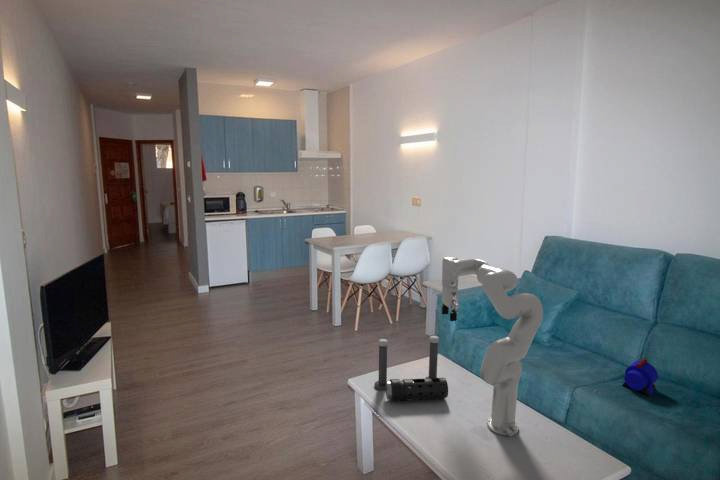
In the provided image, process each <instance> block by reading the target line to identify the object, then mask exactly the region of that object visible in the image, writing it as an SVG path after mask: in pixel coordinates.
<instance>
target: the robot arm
mask: <svg viewBox="0 0 720 480" xmlns="http://www.w3.org/2000/svg"><path fill="white" fill-rule="evenodd" d="M441 263H442V265H441V267H442V268H441V269H442V271H441V274H442V275H441V286H442V290H441V314H442V315H449V321H450V322H456V321H457V320H458V319H457V317H458V310H459V302H460V301H459V299H460V297H459V296H460V295H459V277H465V276H470V275H474V276H475V275H476V279H477V281H478V282H479V284H481V286H482V288H483V291H484V293H485V294H486V296H487V298H488V299H489V301H490V302H491V304H492V306H493V308H494V309H495V310H496V312H497V313H498V315H499V316H501V318H503V319H506V320H513V319H516V318H518V319H517V320H516V321H515V323H514V324H513V325H512V328H511V330H510V332H509V333H508V335H507V336H506V337H504V338H500V339H497V340H494V341H493V342H492V343H490V344H489V346H488V348H487V350H486V352H485V355H484V358H483V359H482V362H481V365H480V376H481V379H482V380H483V381H484V382H485V383H486V384H488V385H491V386H492V387H493V388H492V400H491V402H492V403H491V413H490V414H491V415H490V417H488V418H487V421H486V424H487V425H486V426H487V427H488V429H489V430H490V431H492V432H493V433H495V434H498V435H500V436H501V435H502V436H509V437H514V435H515V434H518V431H519V425H518V423H517V422H516V414H517V413H516V411H517V400H518V388H519V383H520V379H521V376H522V370H523V368H522V364H521V360H522V359H524V358H525V357H526V354H527V353H528V351H529V348H530V346H531V345H532V343H533V341H534V337H535V336H536V334H537V332H538V330H539V328H540V326H541V324H542V321H543V319H544V318H543V317H544V309H543V305H542V302H541V300H540V299H539V298H538V297H537V295H535V294H533V293H529V292H525V293H524V292H523V293H517V294H512V295H508V293H507V292H510V291H512V290H514V289H515V288H516V287H517V284H518V282H519V279H518V276H517V274H515V273H514V272H512V271H511V270H508V269H505V268H500V267H497V266H492V265H490V264H489V263H488V262H487V261H485V260H481V259H478V258H471V257H470V258H465V259H464V258H463V259H458V257H455V256H445V257H443V258H442V262H441ZM449 310H450V312H449Z"/></svg>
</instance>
